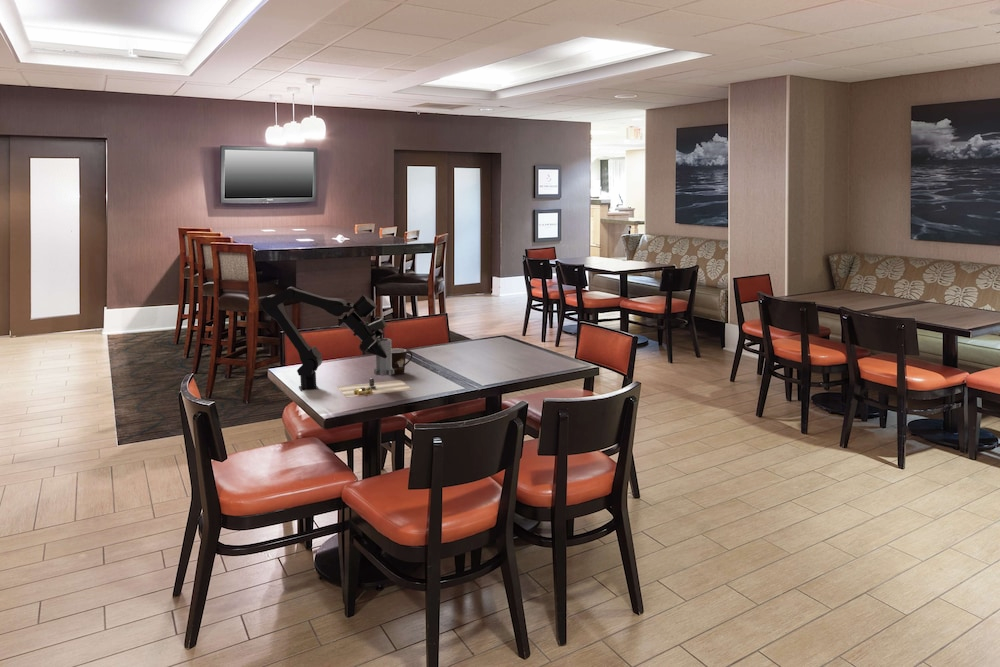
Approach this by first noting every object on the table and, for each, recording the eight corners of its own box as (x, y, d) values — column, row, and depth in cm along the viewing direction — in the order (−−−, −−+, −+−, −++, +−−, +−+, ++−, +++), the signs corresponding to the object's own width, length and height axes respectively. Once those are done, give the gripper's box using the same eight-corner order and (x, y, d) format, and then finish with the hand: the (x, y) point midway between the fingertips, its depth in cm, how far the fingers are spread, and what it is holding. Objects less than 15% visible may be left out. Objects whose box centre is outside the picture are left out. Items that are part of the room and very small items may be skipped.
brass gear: (352, 391, 277) (351, 386, 276) (369, 389, 279) (369, 384, 279) (356, 396, 271) (356, 391, 270) (374, 394, 273) (374, 389, 273)
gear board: (337, 388, 284) (337, 386, 283) (400, 381, 294) (400, 380, 293) (346, 398, 269) (346, 397, 269) (413, 391, 279) (413, 389, 279)
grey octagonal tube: (372, 375, 277) (372, 341, 275) (376, 371, 285) (375, 337, 282) (392, 376, 277) (392, 342, 275) (395, 371, 285) (395, 338, 282)
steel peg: (367, 387, 283) (367, 377, 282) (374, 386, 284) (374, 377, 283) (369, 388, 280) (368, 379, 280) (376, 388, 282) (376, 378, 281)
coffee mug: (386, 377, 299) (386, 353, 298) (384, 372, 308) (383, 349, 306) (415, 375, 302) (415, 351, 301) (412, 371, 311) (411, 347, 309)
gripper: (368, 315, 267) (398, 346, 269) (377, 307, 286) (406, 336, 288) (346, 336, 269) (377, 367, 271) (357, 327, 287) (386, 355, 289)
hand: (387, 355), depth 280 cm, fingers closed on grey octagonal tube, 5 cm apart
